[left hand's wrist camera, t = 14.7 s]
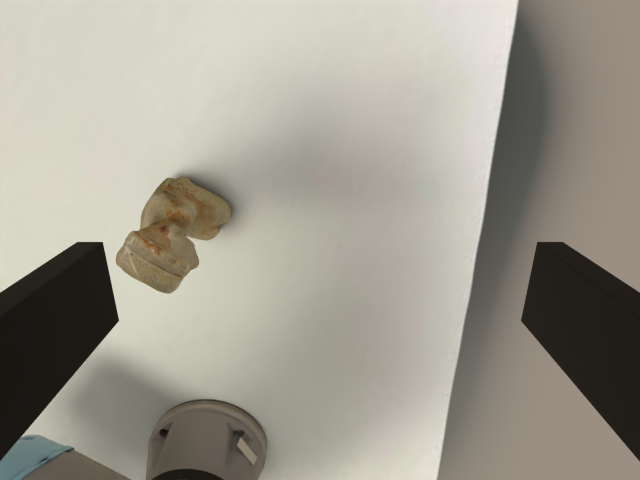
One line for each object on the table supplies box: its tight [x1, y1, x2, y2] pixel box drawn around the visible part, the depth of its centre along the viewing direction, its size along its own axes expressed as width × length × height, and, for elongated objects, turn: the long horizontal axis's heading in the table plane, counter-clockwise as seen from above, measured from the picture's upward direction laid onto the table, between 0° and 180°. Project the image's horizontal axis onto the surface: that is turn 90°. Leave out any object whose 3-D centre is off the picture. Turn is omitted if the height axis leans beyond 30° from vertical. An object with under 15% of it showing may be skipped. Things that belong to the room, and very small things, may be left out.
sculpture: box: [116, 177, 231, 293], centre depth 36 cm, size 6×7×15 cm
